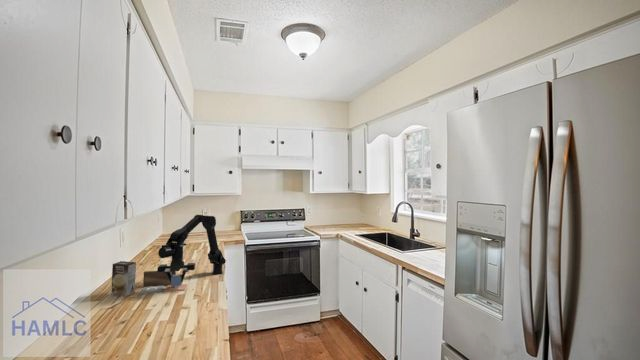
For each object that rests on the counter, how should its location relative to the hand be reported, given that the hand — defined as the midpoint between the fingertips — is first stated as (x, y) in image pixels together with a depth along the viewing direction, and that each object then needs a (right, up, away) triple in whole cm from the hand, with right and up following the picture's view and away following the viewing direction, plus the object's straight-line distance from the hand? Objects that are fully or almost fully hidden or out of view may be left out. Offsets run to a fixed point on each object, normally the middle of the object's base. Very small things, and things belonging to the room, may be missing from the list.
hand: (176, 282), depth 169 cm
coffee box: (-23, -2, -10) cm, 25 cm away
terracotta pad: (0, -3, 0) cm, 3 cm away
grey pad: (-12, -3, -4) cm, 12 cm away
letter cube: (0, -1, 0) cm, 1 cm away
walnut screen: (-12, -3, +5) cm, 13 cm away
